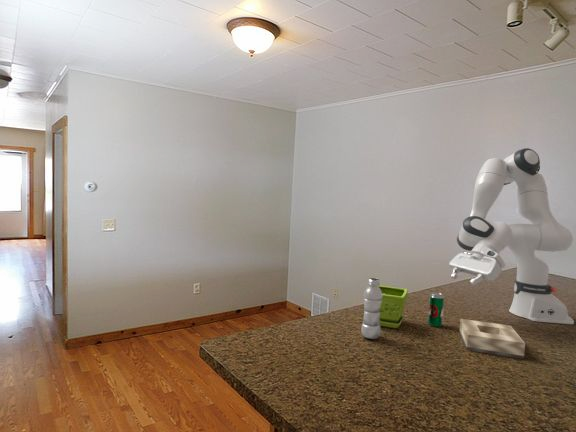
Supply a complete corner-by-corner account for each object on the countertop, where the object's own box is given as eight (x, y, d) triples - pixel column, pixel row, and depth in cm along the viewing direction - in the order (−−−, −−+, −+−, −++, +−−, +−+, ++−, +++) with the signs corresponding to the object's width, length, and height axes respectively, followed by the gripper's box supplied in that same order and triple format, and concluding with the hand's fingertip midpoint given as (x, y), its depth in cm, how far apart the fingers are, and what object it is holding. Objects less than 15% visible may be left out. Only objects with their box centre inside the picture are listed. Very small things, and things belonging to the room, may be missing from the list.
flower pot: (406, 320, 140) (408, 288, 139) (401, 332, 128) (404, 297, 127) (370, 314, 146) (372, 283, 145) (362, 325, 133) (364, 291, 133)
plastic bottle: (381, 335, 124) (384, 278, 123) (379, 343, 118) (383, 282, 116) (362, 332, 126) (365, 276, 125) (359, 339, 120) (363, 280, 118)
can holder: (509, 339, 126) (510, 325, 126) (523, 359, 111) (525, 343, 110) (459, 332, 131) (460, 318, 130) (466, 349, 116) (467, 334, 115)
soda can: (443, 328, 134) (445, 296, 133) (428, 326, 135) (431, 295, 134) (440, 323, 139) (442, 292, 138) (426, 321, 140) (428, 291, 139)
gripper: (458, 246, 152) (438, 269, 149) (501, 254, 133) (480, 281, 130) (465, 256, 154) (445, 279, 151) (509, 266, 135) (488, 293, 132)
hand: (462, 280), depth 141 cm, fingers open, 8 cm apart
